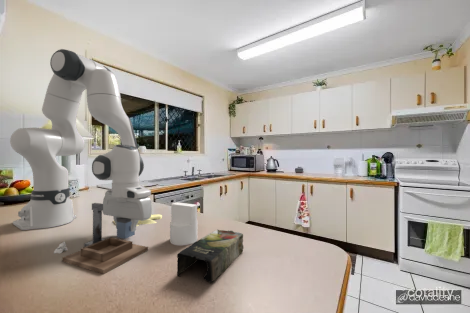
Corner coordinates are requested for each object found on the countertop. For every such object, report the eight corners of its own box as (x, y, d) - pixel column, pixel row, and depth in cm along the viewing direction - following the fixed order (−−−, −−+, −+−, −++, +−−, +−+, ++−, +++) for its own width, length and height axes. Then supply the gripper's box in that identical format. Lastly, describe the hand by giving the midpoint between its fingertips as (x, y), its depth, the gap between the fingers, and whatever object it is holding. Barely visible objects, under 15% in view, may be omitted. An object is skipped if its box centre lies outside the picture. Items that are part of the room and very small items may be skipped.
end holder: (62, 261, 57) (62, 250, 57) (110, 241, 70) (110, 232, 70) (103, 274, 51) (103, 261, 51) (147, 250, 64) (148, 240, 64)
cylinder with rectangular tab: (202, 237, 74) (202, 203, 74) (186, 247, 66) (186, 208, 66) (181, 233, 78) (182, 200, 78) (164, 242, 70) (164, 205, 70)
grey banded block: (116, 237, 75) (116, 218, 75) (126, 233, 78) (126, 215, 78) (125, 238, 73) (125, 219, 73) (134, 234, 77) (134, 216, 77)
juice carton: (216, 244, 69) (216, 225, 69) (245, 250, 65) (245, 230, 65) (175, 277, 51) (175, 251, 50) (211, 288, 47) (212, 260, 46)
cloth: (103, 226, 87) (103, 211, 87) (134, 214, 105) (134, 201, 105) (151, 231, 82) (151, 215, 82) (175, 217, 100) (175, 204, 100)
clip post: (84, 246, 67) (84, 204, 67) (99, 240, 71) (99, 201, 71) (94, 248, 65) (95, 206, 65) (110, 242, 69) (110, 202, 69)
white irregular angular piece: (62, 254, 62) (62, 243, 62) (52, 255, 61) (52, 244, 61) (68, 250, 65) (68, 239, 65) (59, 250, 64) (59, 240, 64)
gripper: (97, 190, 77) (97, 228, 77) (140, 194, 69) (140, 237, 69) (113, 187, 83) (113, 223, 83) (154, 191, 75) (154, 230, 75)
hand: (125, 229), depth 76 cm, fingers open, 5 cm apart
